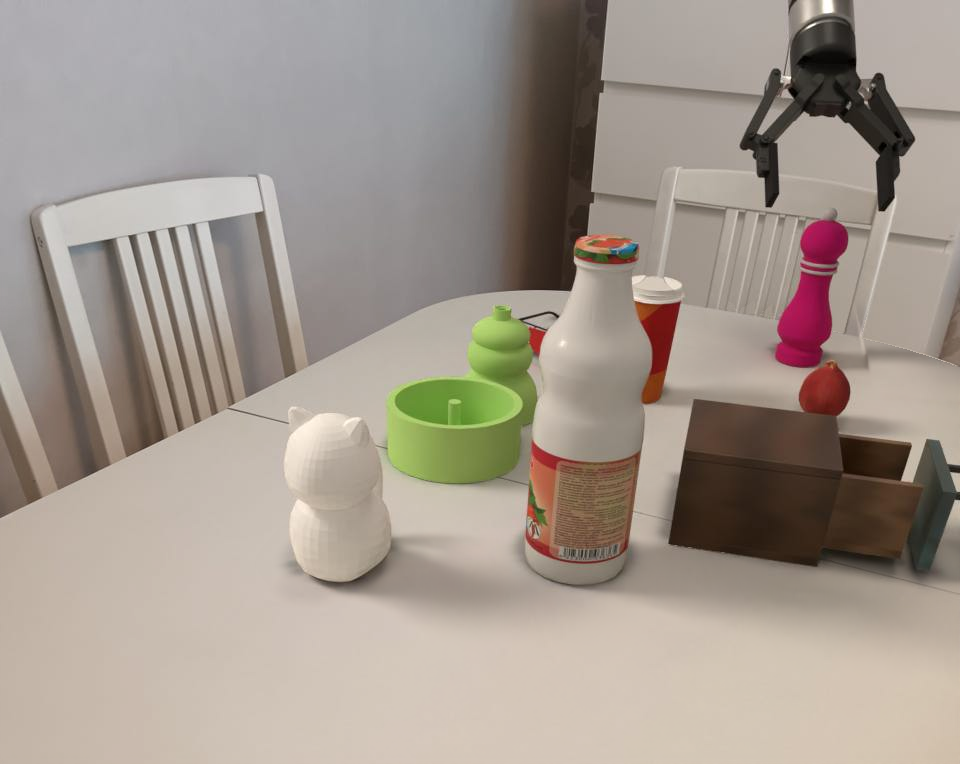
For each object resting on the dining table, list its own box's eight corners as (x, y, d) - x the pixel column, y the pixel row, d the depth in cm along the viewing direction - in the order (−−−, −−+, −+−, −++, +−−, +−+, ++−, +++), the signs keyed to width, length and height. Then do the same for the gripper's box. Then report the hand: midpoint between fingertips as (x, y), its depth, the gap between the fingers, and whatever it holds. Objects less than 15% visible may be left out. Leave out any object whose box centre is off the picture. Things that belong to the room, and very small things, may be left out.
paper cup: (611, 381, 127) (624, 271, 119) (670, 388, 126) (687, 277, 118) (605, 403, 121) (618, 288, 112) (667, 410, 120) (685, 295, 111)
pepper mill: (763, 361, 135) (795, 207, 124) (781, 347, 140) (813, 199, 129) (813, 372, 132) (851, 216, 121) (830, 358, 137) (868, 207, 125)
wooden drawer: (970, 521, 96) (998, 447, 92) (991, 580, 87) (1022, 501, 82) (786, 495, 99) (804, 423, 95) (787, 550, 90) (807, 473, 86)
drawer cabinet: (813, 505, 100) (836, 415, 94) (817, 567, 90) (843, 470, 84) (678, 486, 102) (693, 398, 97) (667, 544, 92) (683, 449, 87)
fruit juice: (593, 599, 84) (633, 265, 68) (503, 564, 88) (521, 242, 72) (643, 556, 90) (691, 240, 74) (557, 525, 95) (584, 221, 78)
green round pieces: (489, 494, 100) (494, 375, 92) (364, 466, 104) (359, 350, 97) (566, 410, 119) (575, 306, 111) (458, 389, 123) (460, 288, 116)
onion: (797, 411, 121) (812, 347, 116) (845, 420, 119) (862, 356, 114) (788, 427, 116) (803, 362, 112) (837, 437, 115) (854, 371, 110)
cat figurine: (269, 583, 84) (251, 421, 76) (333, 519, 94) (323, 369, 85) (363, 604, 82) (355, 440, 73) (418, 537, 92) (418, 385, 83)
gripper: (908, 69, 121) (918, 224, 118) (711, 61, 120) (715, 217, 117) (939, 22, 114) (950, 186, 110) (728, 13, 113) (733, 178, 110)
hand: (829, 203), depth 114 cm, fingers open, 13 cm apart
